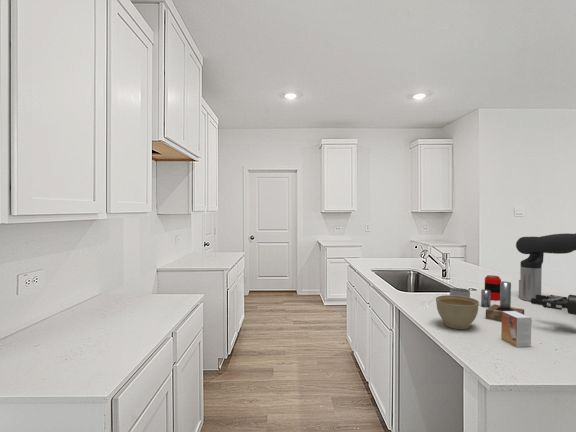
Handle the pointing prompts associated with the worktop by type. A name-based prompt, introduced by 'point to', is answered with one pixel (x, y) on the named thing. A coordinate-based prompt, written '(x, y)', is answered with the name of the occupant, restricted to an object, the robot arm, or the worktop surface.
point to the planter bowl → (457, 310)
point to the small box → (516, 328)
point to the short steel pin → (485, 298)
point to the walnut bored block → (498, 312)
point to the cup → (460, 292)
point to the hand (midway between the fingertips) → (533, 298)
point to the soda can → (493, 286)
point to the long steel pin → (505, 296)
